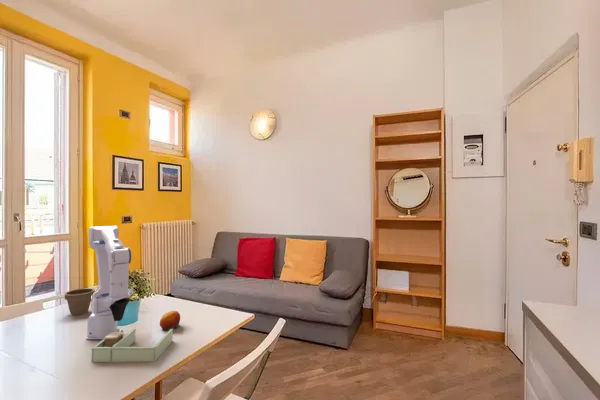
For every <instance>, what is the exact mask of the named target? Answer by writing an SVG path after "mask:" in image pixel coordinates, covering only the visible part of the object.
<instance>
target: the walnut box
mask: <svg viewBox="0 0 600 400" xmlns="http://www.w3.org/2000/svg"><path fill="white" fill-rule="evenodd" d="M123 337H124V332H123V331H121V332H111V333H110V334H108V335H107V336H106V337H105V338H104V339H105V347H112V346H113V345H114V344H116V343H117V342H118V341H119V340H121V339H122V338H123Z"/></svg>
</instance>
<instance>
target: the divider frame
mask: <svg viewBox="0 0 600 400" xmlns="http://www.w3.org/2000/svg"><path fill="white" fill-rule="evenodd" d="M119 331H120V328H117V330H115V331H114V332H119ZM136 331H137V329H136V328H133V329H132V330H131V331H129V332H128V333H126V334H125V335H123V338H122V339H121V340H119V341H118V342H117V343H116V344H114V345H113V346H112V347H105V339H101V340H100V341H99V342H98V343H96V344H95V345H93V346H92V347H91V363H93V362H94V363H95V362H96V363H99V362H100V363H101V362H103V363H104V362H105V363H107V362H108V363H109V362H110V363H111V362H112V363H115V362H116V363H117V362H118V363H119V362H120V363H121V362H124V363H125V362H126V363H127V362H156V361H157V360H158V359H159V358H160V357H161V355H162V354H163V353H164V352H165V351H166V349H168V347H169V346H170V344H171V343H172V342H173V341H174V340H173V339H174V338H173V335H174V334H173V333H174V329H170V330H167V332H166V334H164V335H163V337H162V338H161V339H160V340H159V341H158V342H157V343H156V344H155V345H154V346H131V345H132V344H134V342H136Z"/></svg>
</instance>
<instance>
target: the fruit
mask: <svg viewBox="0 0 600 400" xmlns="http://www.w3.org/2000/svg"><path fill="white" fill-rule="evenodd" d="M180 321H181V314H180V313H179V311H177V310H170V311H168V312H166V313H164V314H162V315H161V318H160V321H159V327H160V328H161V329H163V330H164V331H169V330H170V329H173V330H174V329H175V328H176V327H180Z"/></svg>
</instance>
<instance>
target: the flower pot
mask: <svg viewBox="0 0 600 400" xmlns="http://www.w3.org/2000/svg"><path fill="white" fill-rule="evenodd" d="M95 292H96V291H95V289H94V288H89V287H88V288H78V289H73V290H69V291H67V292H65V293H64V300H66V302H67V305H68V309H69V314H70V315H73V316H77V315H78V316H79V315H83V314H86V313H88V311H89V309H90V307H91V302H92V299H91V295H92V294H93V293H95Z"/></svg>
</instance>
